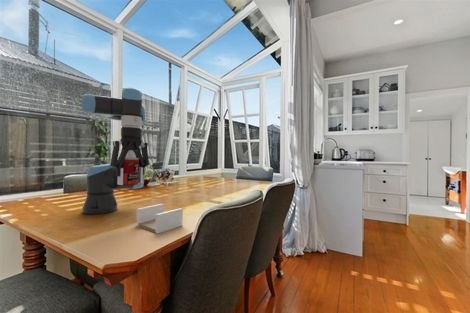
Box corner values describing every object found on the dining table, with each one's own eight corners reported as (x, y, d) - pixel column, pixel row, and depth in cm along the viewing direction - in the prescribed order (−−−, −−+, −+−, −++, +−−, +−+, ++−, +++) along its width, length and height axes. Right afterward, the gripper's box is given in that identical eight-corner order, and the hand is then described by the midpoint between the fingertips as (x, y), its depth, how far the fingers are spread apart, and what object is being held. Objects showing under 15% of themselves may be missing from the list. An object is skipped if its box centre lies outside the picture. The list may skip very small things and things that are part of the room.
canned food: (129, 186, 86) (130, 158, 86) (112, 184, 88) (113, 157, 88) (142, 183, 93) (143, 157, 93) (126, 182, 95) (127, 157, 95)
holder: (136, 225, 90) (136, 208, 90) (161, 219, 100) (161, 203, 100) (157, 233, 82) (158, 214, 82) (182, 225, 92) (182, 208, 92)
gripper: (109, 123, 79) (108, 187, 79) (158, 129, 95) (157, 182, 96) (100, 124, 83) (98, 185, 83) (148, 130, 100) (147, 180, 100)
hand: (130, 183), depth 89 cm, fingers closed on canned food, 8 cm apart
